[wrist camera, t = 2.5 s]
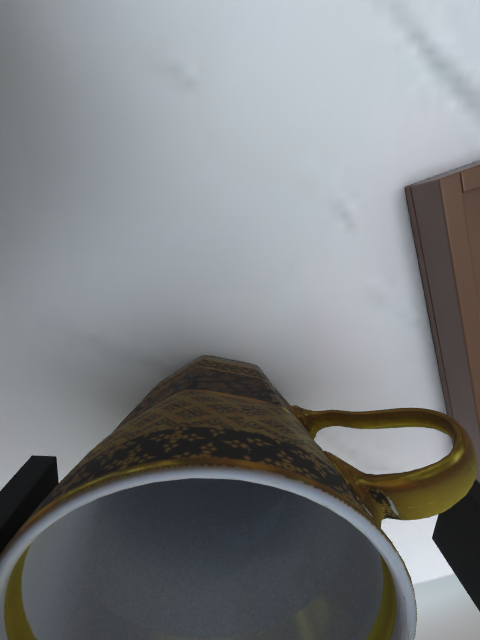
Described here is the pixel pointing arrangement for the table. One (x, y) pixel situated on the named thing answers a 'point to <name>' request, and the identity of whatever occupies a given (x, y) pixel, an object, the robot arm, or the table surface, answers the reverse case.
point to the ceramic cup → (225, 523)
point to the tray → (452, 284)
